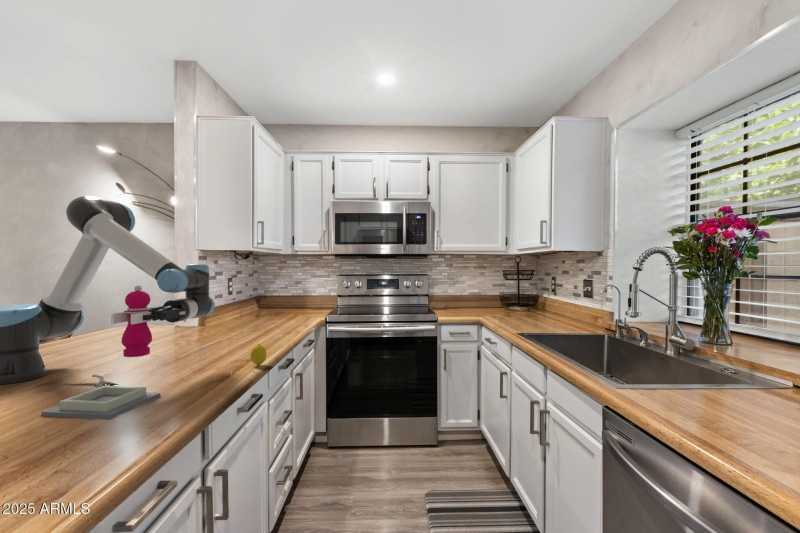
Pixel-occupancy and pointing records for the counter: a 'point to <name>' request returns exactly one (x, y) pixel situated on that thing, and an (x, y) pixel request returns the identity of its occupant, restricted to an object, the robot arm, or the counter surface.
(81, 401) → the pocket board
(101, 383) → the pliers
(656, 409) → the counter surface
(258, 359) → the lemon
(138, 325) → the pepper mill
